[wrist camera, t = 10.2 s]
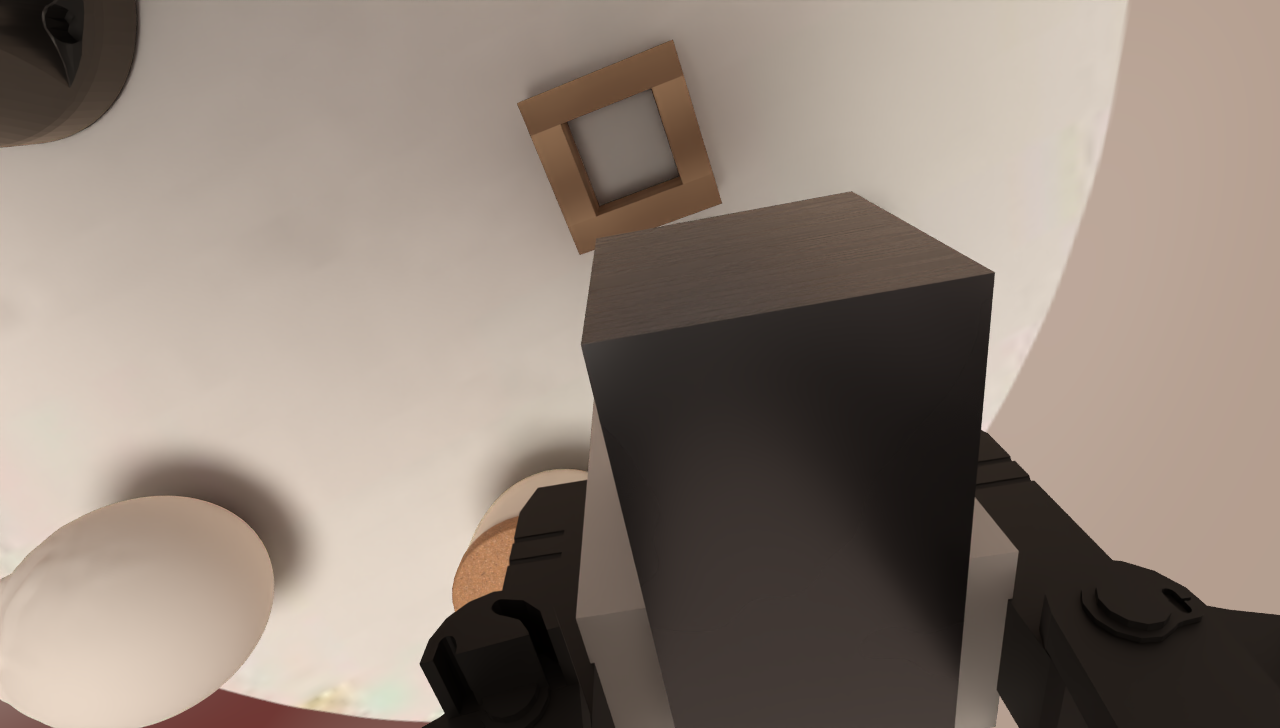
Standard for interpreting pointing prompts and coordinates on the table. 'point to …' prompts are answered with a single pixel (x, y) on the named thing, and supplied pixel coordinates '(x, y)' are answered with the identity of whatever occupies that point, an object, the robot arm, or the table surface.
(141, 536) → the decorative ball
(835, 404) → the bar
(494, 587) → the lidded jar
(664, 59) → the key stand
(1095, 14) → the table surface
